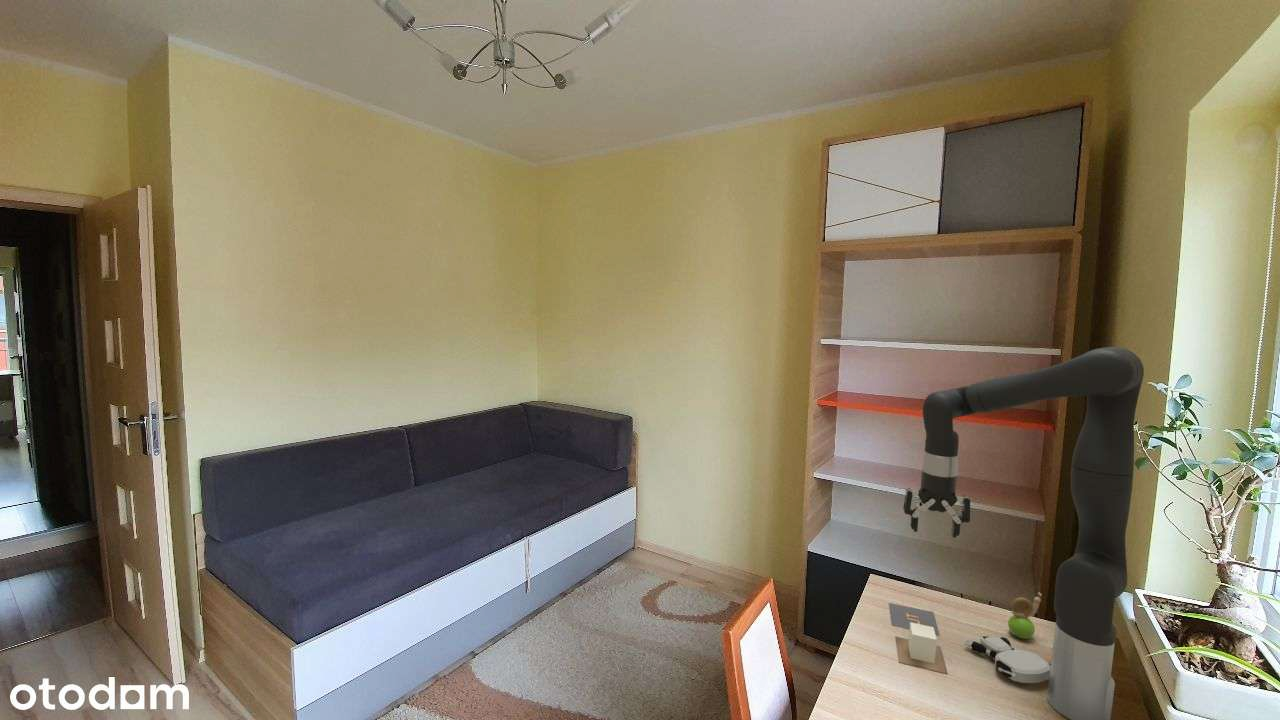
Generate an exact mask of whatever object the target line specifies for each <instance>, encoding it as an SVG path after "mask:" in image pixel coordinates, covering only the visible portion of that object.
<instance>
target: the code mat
mask: <svg viewBox="0 0 1280 720" xmlns="http://www.w3.org/2000/svg"><path fill="white" fill-rule="evenodd" d="M888 609H889V615H890V624H891V626H892V627H897V628H901V629H906V630H908V631H909V630H910V622H912V623H916V624H921V625H926V626H930V627H934V631H935V635H936V637H940V636H941V635H940V632H939V627H938V624H937V620H936V617H935V613H934V611H930V610H925V609H920V608H915V607H911V606H905V605H900V604H896V603H890V602H888Z"/></svg>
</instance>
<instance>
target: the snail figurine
mask: <svg viewBox="0 0 1280 720" xmlns="http://www.w3.org/2000/svg"><path fill="white" fill-rule="evenodd" d="M1037 594H1038V596H1035V597H1034V599H1033V603H1032V602H1031V600H1030V599H1028V598H1026V597H1021V596H1020V597H1016V598H1014V599H1013V600H1012V602H1011V608H1012V609H1013V610H1012V611H1011V613H1012V615H1011V616H1010V617H1009V618H1008V620H1007V621H1008V622H1007V625H1008V629H1009V630H1010V632H1011V634H1013V635H1014V636H1015V637H1017V638H1019V639H1023V640H1024V639H1025V640H1026V639H1030V638H1032V637H1033V636H1034V635H1035V632H1036V627H1035V625H1034V623H1033V621H1032V620H1031V619H1030V618H1031V617H1033V616H1035V614H1036V613H1037V612H1038V609H1039V607H1040V603H1041V601H1042V599H1041V598H1042V596H1043V595H1042V593H1041V592H1037Z"/></svg>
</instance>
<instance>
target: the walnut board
mask: <svg viewBox="0 0 1280 720" xmlns="http://www.w3.org/2000/svg"><path fill="white" fill-rule="evenodd" d="M894 637H895V644H896V645H895V646H896V651H897V653H896V654H897V659H898V664H902V665H906V666H910V667H913V668H917V669H922V670H926V671H931V672H935V673H939V674H943V675H945V676H946V675H947V676H948V675H949V672H948V669H947V666H946V662H945V661H946V660H945V659H944V654H943V650H942V647H941V645H936V654H935V664H934V663H929V662H925V661H921V660H917V659H913V658H910V652H909V646H908V642H909V638H904V637H902V636H901V637H899V636H897V635H895V636H894Z"/></svg>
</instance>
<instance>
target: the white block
mask: <svg viewBox="0 0 1280 720" xmlns="http://www.w3.org/2000/svg"><path fill="white" fill-rule="evenodd" d="M908 631H909V633H908V639H909V642H908V646H909V652H910V658H913V659H917V660H921V661H925V662H929V663H934V664H935V654H936V646H937V643H938V641H937V635H935V631H934V627H930V626H926V625H921V624H916V623H912V622H910V630H909V629H908Z"/></svg>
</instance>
